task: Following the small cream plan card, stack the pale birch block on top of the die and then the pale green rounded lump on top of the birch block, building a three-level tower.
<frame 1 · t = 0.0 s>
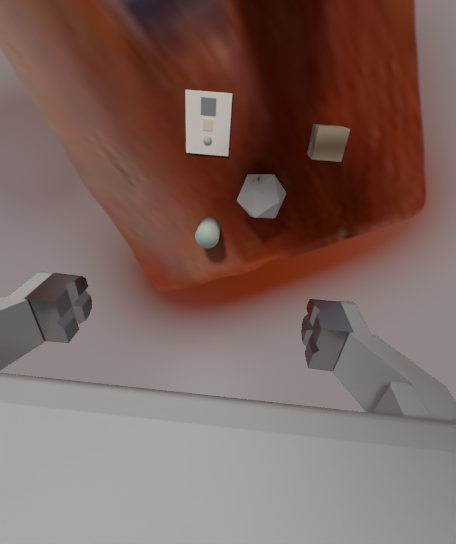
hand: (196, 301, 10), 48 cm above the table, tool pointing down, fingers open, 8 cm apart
birch block: (323, 140, 50), on the table
pale green rounded lump: (210, 227, 61), on the table
die: (261, 190, 56), on the table
plan card: (208, 124, 50), on the table
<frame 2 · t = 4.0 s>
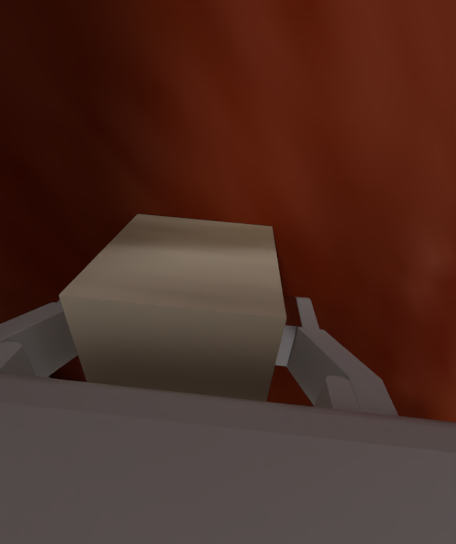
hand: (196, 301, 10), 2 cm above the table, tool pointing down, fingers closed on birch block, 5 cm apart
birch block: (203, 276, 12), on the table, touching gripper
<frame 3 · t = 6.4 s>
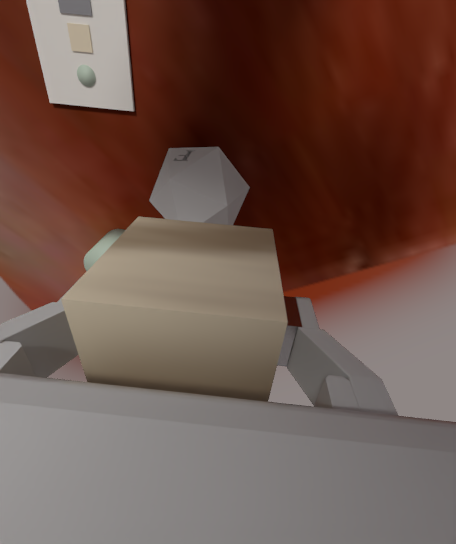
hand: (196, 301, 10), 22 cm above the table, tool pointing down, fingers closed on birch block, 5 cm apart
birch block: (203, 278, 12), point 20 cm above the table, touching gripper
pale green rounded lump: (123, 246, 35), on the table
die: (205, 182, 30), on the table
plan card: (82, 38, 24), on the table
when the fingers open (11 cm above the table, at t = 9.0 s): birch block drops 2 cm, resting on die.
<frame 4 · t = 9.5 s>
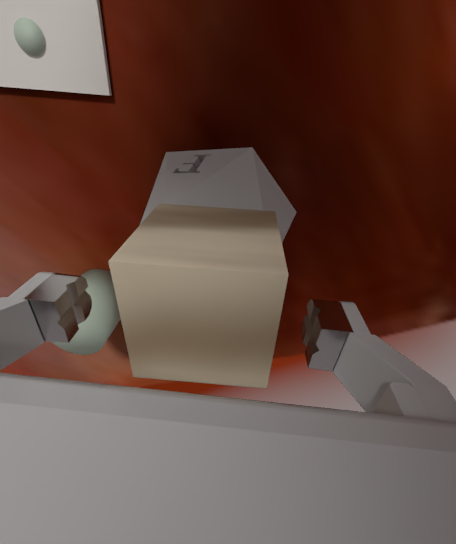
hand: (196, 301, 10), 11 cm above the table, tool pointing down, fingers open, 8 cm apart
birch block: (215, 258, 13), point 8 cm above the table, touching die
pale green rounded lump: (104, 292, 25), on the table
die: (222, 202, 20), on the table, touching birch block
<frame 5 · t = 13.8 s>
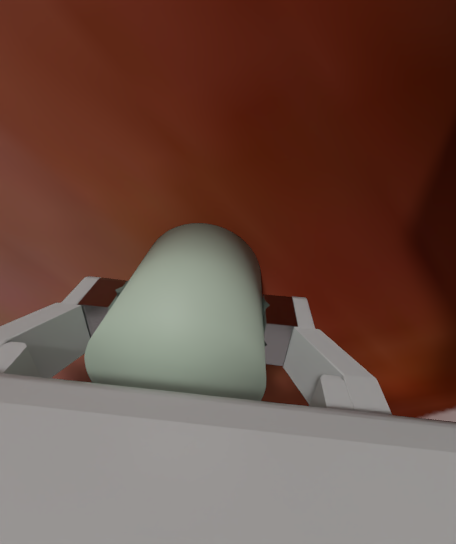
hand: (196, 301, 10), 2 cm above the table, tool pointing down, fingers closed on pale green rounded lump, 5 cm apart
pale green rounded lump: (203, 277, 12), on the table, touching gripper
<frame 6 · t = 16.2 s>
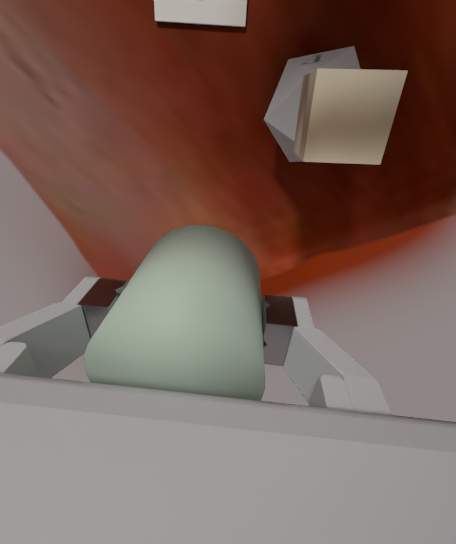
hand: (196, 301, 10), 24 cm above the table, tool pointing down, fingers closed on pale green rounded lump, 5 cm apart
birch block: (330, 116, 21), point 8 cm above the table, touching die
pale green rounded lump: (202, 278, 12), point 23 cm above the table, touching gripper
die: (309, 110, 28), on the table, touching birch block
when the fingers open (16 cm above the table, at t = 18.9 s): pale green rounded lump drops 2 cm, resting on birch block.
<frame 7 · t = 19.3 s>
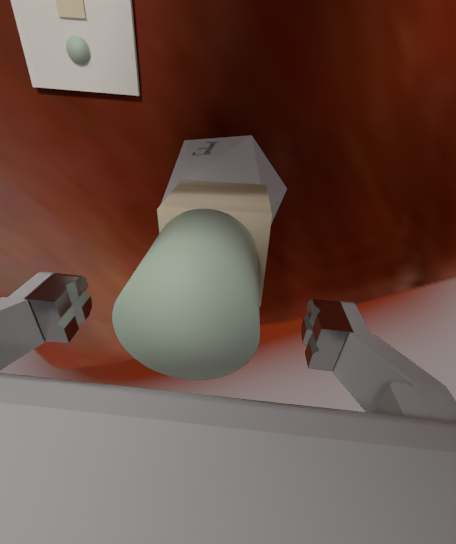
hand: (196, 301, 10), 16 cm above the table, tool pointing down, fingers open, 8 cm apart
birch block: (222, 222, 18), point 8 cm above the table, touching die, pale green rounded lump
pale green rounded lump: (206, 257, 13), point 13 cm above the table, touching birch block
die: (227, 184, 24), on the table, touching birch block
plan card: (72, 0, 18), on the table
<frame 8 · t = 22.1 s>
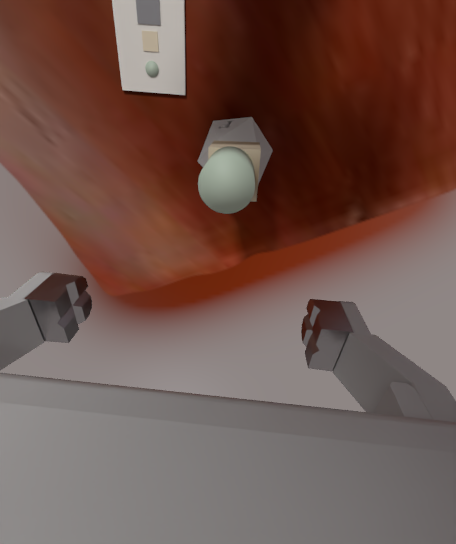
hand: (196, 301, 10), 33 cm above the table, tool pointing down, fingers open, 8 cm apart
birch block: (235, 165, 32), point 8 cm above the table, touching die, pale green rounded lump
pale green rounded lump: (230, 172, 28), point 13 cm above the table, touching birch block
die: (236, 150, 38), on the table, touching birch block
plan card: (151, 41, 32), on the table
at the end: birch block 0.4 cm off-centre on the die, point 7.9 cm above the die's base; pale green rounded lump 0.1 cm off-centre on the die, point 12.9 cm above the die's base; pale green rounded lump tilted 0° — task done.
